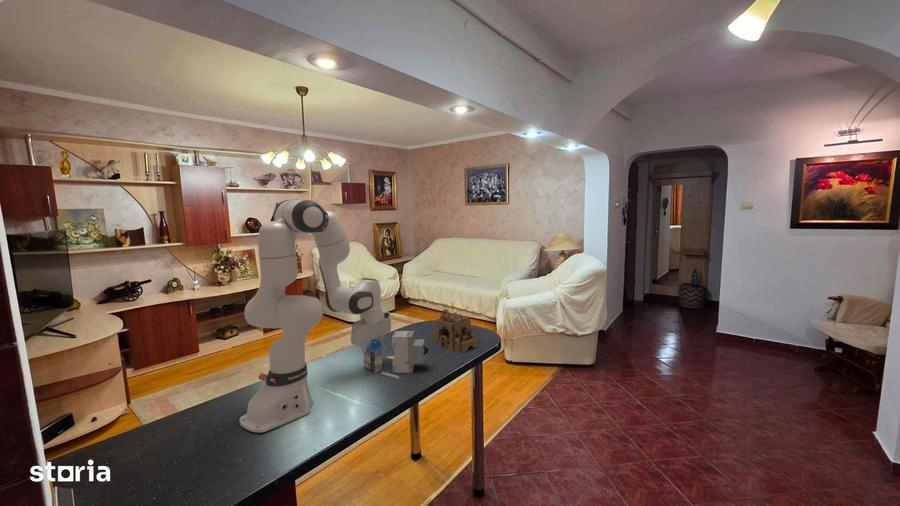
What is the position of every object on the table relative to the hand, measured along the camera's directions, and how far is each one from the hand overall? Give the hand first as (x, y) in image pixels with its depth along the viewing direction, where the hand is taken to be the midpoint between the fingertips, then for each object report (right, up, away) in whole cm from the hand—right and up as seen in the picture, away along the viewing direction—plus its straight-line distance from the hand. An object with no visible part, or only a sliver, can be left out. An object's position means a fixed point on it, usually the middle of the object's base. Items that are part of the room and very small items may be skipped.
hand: (372, 348), depth 149 cm
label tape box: (0, -9, +1) cm, 9 cm away
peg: (+8, -9, -7) cm, 14 cm away
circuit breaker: (+16, -9, 0) cm, 18 cm away
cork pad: (+8, -7, +13) cm, 17 cm away
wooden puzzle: (+35, -6, +28) cm, 45 cm away
